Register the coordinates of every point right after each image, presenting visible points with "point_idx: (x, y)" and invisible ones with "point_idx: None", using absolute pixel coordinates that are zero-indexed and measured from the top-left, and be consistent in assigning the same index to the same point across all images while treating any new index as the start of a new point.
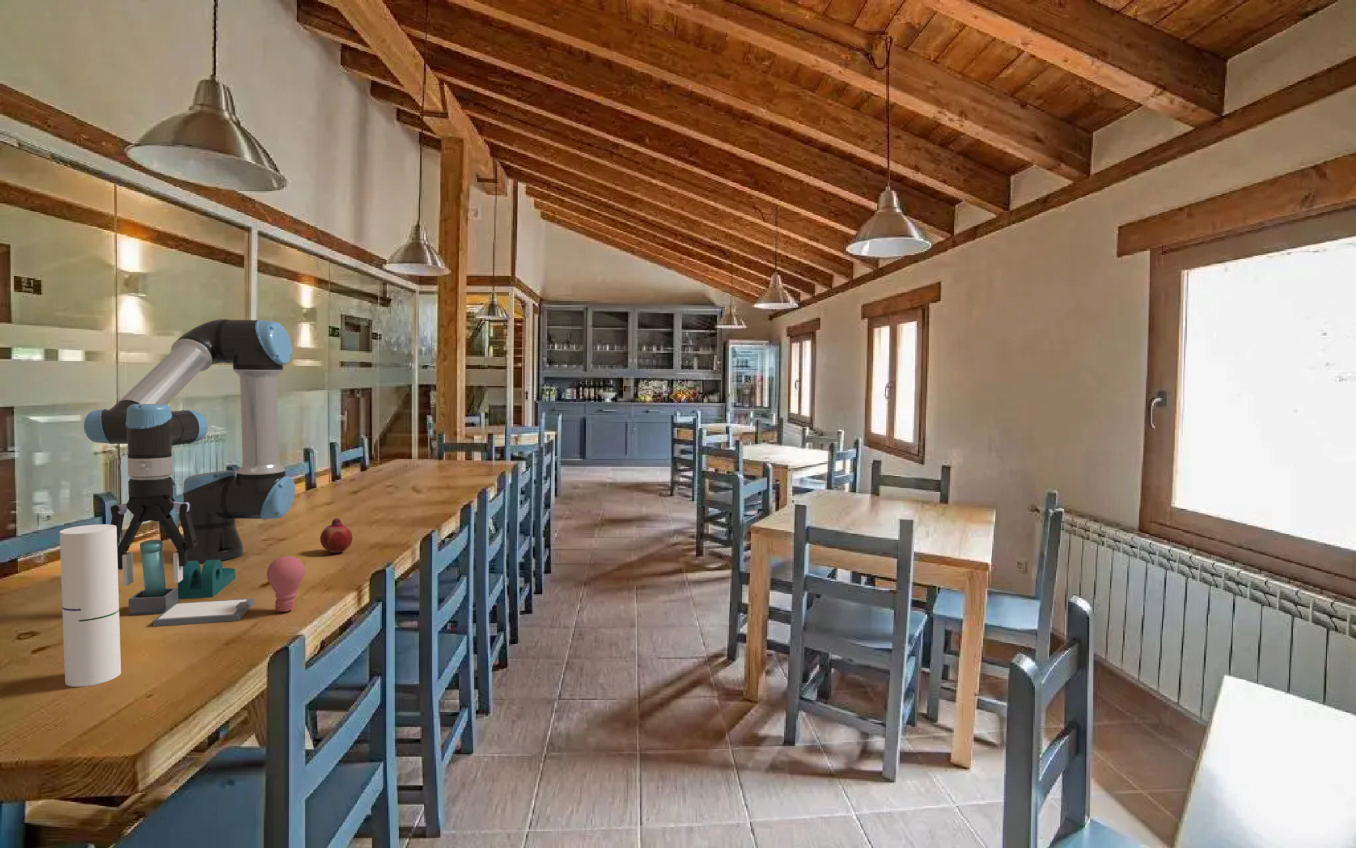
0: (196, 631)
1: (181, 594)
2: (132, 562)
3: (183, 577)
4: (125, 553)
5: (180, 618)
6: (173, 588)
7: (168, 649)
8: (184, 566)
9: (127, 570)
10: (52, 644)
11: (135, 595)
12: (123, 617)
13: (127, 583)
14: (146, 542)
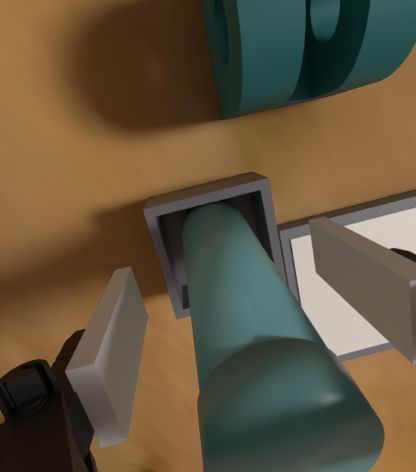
0: (411, 378)
1: (236, 116)
2: (111, 317)
3: (263, 106)
4: (84, 413)
5: (364, 352)
6: (256, 189)
7: (397, 461)
8: (266, 60)
9: (138, 355)
10: (147, 464)
11: (170, 281)
12: (170, 302)
13: (146, 320)
14: (249, 466)
